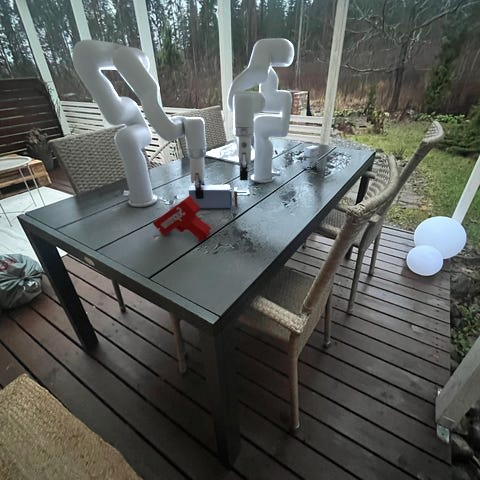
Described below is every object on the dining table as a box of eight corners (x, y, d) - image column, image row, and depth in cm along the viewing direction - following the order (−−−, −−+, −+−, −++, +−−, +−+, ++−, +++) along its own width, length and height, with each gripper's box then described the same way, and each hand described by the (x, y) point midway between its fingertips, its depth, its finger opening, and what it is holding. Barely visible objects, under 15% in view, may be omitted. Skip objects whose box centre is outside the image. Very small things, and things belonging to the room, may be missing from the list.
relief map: (243, 164, 168) (243, 156, 165) (202, 155, 186) (201, 147, 183) (266, 154, 186) (267, 146, 183) (227, 147, 204) (226, 140, 201)
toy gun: (217, 229, 94) (190, 194, 90) (212, 235, 91) (184, 199, 87) (184, 248, 104) (159, 217, 100) (179, 254, 101) (152, 223, 97)
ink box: (309, 164, 167) (312, 144, 161) (316, 166, 164) (319, 146, 158) (301, 167, 162) (304, 147, 156) (308, 169, 159) (311, 148, 153)
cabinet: (230, 203, 121) (229, 184, 116) (230, 209, 116) (229, 189, 111) (192, 204, 121) (190, 184, 116) (190, 209, 116) (188, 190, 111)
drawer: (249, 202, 120) (249, 186, 116) (249, 206, 116) (250, 191, 112) (201, 202, 120) (200, 187, 116) (200, 207, 116) (199, 191, 112)
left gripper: (190, 146, 113) (194, 187, 122) (183, 158, 98) (189, 204, 108) (208, 146, 113) (211, 187, 123) (204, 158, 98) (207, 204, 108)
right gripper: (255, 135, 95) (253, 185, 104) (252, 126, 109) (251, 171, 118) (233, 136, 94) (234, 185, 104) (233, 126, 108) (234, 171, 118)
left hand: (200, 195), depth 115 cm, fingers closed on cabinet, 5 cm apart
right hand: (243, 177), depth 111 cm, fingers open, 3 cm apart
